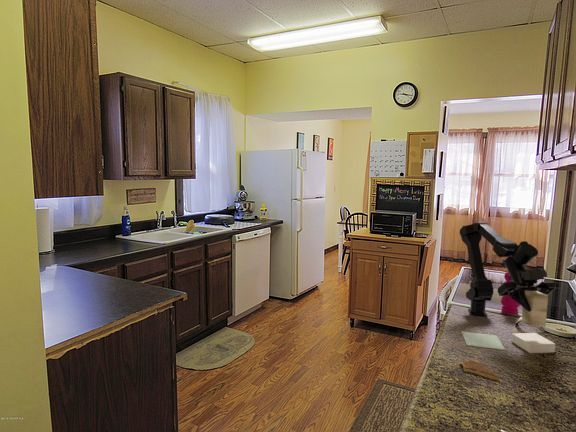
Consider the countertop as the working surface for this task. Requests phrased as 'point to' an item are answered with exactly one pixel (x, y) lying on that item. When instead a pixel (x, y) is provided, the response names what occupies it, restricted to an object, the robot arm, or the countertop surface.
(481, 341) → the mat
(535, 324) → the oak block
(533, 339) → the stand
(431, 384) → the countertop surface
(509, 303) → the pepper mill
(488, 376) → the shard
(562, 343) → the countertop surface
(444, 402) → the countertop surface
